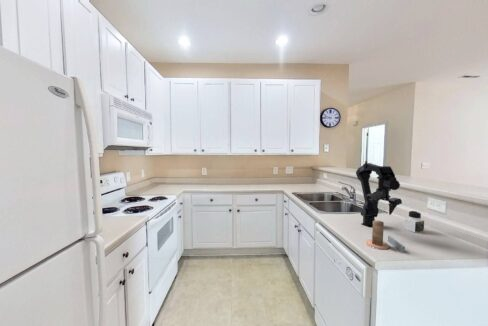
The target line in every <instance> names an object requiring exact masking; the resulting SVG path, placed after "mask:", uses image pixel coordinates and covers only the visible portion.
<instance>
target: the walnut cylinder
mask: <svg viewBox="0 0 488 326" xmlns="http://www.w3.org/2000/svg"><path fill="white" fill-rule="evenodd" d="M384 224H385V223H384V221H381V220H376V219H375V221H373V227H372V233H371V234H372V236H371V240H372V244H374V245H377V246H382V245H383V242H384Z"/></svg>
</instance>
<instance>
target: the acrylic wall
mask: <svg viewBox="0 0 488 326" xmlns="http://www.w3.org/2000/svg"><path fill="white" fill-rule="evenodd" d="M387 242H388V243H389V244H390V245H392V246H393V247H394V248H396V249H397V250H398V251H400V253H406V251H405V248H406V246H404V245H403V244H401V242H399V241H397V240H396V239H395V238H394V237H392V236H391V235H387Z"/></svg>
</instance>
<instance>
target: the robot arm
mask: <svg viewBox="0 0 488 326" xmlns="http://www.w3.org/2000/svg"><path fill="white" fill-rule="evenodd" d="M372 172H374V173H375V174H376V175H377V177H376V179H377V181H378V183H377V188H376V190H375V191H374V192H372V190H371V186H370V178H371V174H372ZM355 175H356V178H357V179H358V181H359V182H360V184H361V189H362V190H361V191H362V194H363V199H364V203H363V206H362V210H361V211H360V216H362V218H363V219H362V223H360V224H361V225H362V226H366V227H368V228H371V227H372V228H373V221H375V220H376V218H377V217H378V214H379V211H380V210H379V207H378V206H379V201H380V200H381V201H385V202H388V203H387V205H388V206H389V208H388V215H389V216H390V215H392V214H393V212H394V210H395V209H396V208H397V206H400V205H402V204H403V201H402V199H401V198H399V197H391V195H390V192H391V191H398V190H399V188H400V186H401V184H400V181H399V180H398V179H397V177H396V175H395V172H394V171H393V168H392V167H391V166H389V165H387V166H386V165H385V166H384V165H377V164H373V163H371V162H365V163H363V164H362V165H361V166H360V167H357V170H356V171H355Z"/></svg>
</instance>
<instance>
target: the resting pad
mask: <svg viewBox="0 0 488 326" xmlns="http://www.w3.org/2000/svg"><path fill="white" fill-rule="evenodd" d="M365 244H366V245H367V246H368V245H369V246H368V247H370V246H371V247H370V248H372V247H374V248H373V249H376V248H378V249H377V250H388V249H390V244H388V243H387V242H385V241H383V245H382V246H377V245H374V244H372V239H367V240H365Z"/></svg>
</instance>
